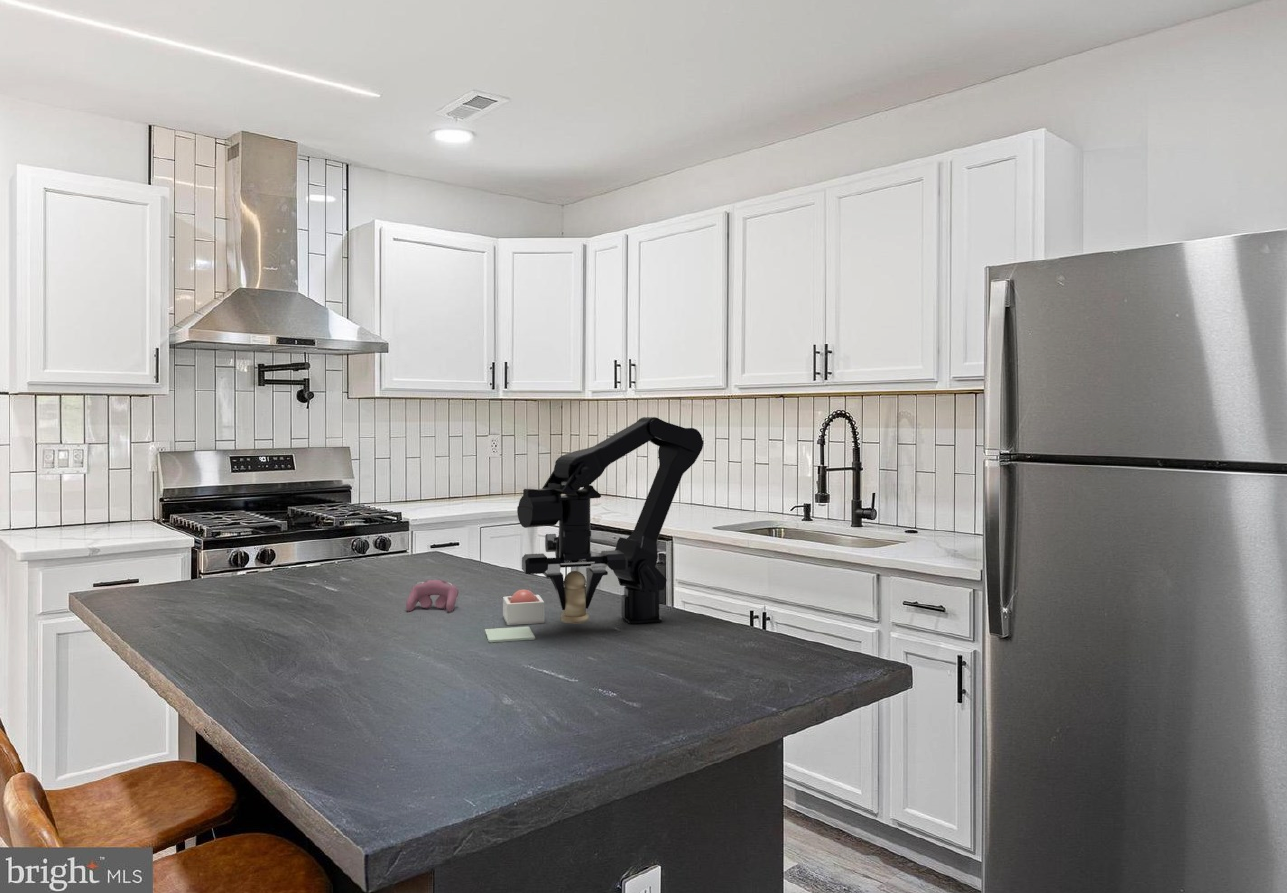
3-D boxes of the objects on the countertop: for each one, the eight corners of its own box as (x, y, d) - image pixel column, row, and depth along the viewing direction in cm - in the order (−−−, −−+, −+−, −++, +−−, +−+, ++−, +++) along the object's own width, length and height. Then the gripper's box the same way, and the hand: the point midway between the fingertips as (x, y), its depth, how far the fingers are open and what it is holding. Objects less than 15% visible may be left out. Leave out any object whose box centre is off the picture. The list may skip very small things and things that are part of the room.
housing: (538, 614, 168) (538, 594, 168) (544, 623, 161) (544, 602, 161) (503, 617, 166) (503, 596, 166) (507, 625, 159) (507, 604, 159)
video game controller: (457, 616, 173) (462, 583, 176) (451, 611, 169) (455, 577, 172) (410, 615, 174) (415, 582, 177) (403, 610, 170) (408, 576, 173)
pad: (528, 628, 157) (528, 626, 157) (535, 639, 149) (535, 637, 149) (484, 631, 155) (484, 629, 155) (488, 642, 147) (488, 640, 147)
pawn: (585, 616, 158) (585, 568, 158) (591, 622, 154) (591, 572, 153) (559, 617, 157) (558, 569, 157) (563, 624, 152) (563, 574, 152)
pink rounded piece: (534, 613, 167) (534, 586, 167) (538, 619, 162) (538, 591, 162) (508, 615, 165) (508, 587, 165) (512, 621, 161) (511, 592, 161)
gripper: (613, 517, 165) (614, 597, 165) (517, 520, 160) (518, 602, 160) (628, 524, 154) (628, 609, 155) (525, 527, 149) (526, 615, 150)
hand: (574, 608), depth 155 cm, fingers closed on pawn, 4 cm apart
